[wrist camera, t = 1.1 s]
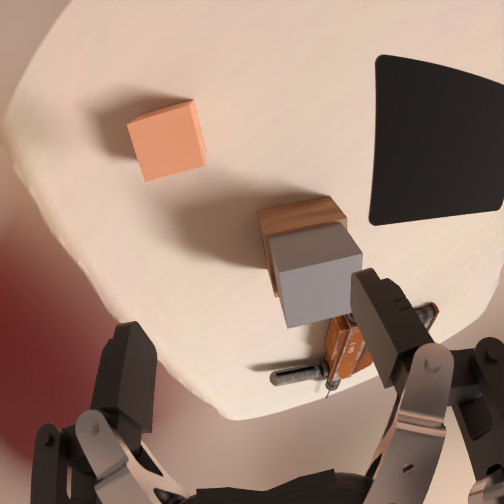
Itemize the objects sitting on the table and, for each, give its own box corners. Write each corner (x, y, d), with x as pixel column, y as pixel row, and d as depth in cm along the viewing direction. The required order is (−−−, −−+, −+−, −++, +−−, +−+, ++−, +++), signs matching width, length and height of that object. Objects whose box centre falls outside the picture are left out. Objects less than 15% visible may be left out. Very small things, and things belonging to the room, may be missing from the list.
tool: (448, 300, 40) (275, 342, 36) (397, 383, 56) (270, 418, 52) (436, 285, 43) (269, 319, 40) (391, 370, 59) (266, 402, 55)
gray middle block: (268, 237, 27) (279, 272, 23) (341, 222, 27) (362, 253, 23) (277, 292, 31) (287, 328, 27) (340, 278, 31) (357, 310, 27)
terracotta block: (141, 114, 23) (126, 124, 19) (194, 99, 23) (189, 105, 19) (155, 162, 26) (145, 181, 22) (206, 149, 26) (204, 165, 22)
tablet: (520, 92, 22) (501, 210, 34) (517, 91, 23) (498, 208, 35) (375, 53, 21) (368, 226, 33) (372, 53, 22) (366, 223, 34)
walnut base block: (256, 209, 31) (263, 235, 26) (329, 195, 30) (347, 217, 26) (267, 268, 35) (274, 297, 31) (331, 254, 35) (345, 280, 31)
